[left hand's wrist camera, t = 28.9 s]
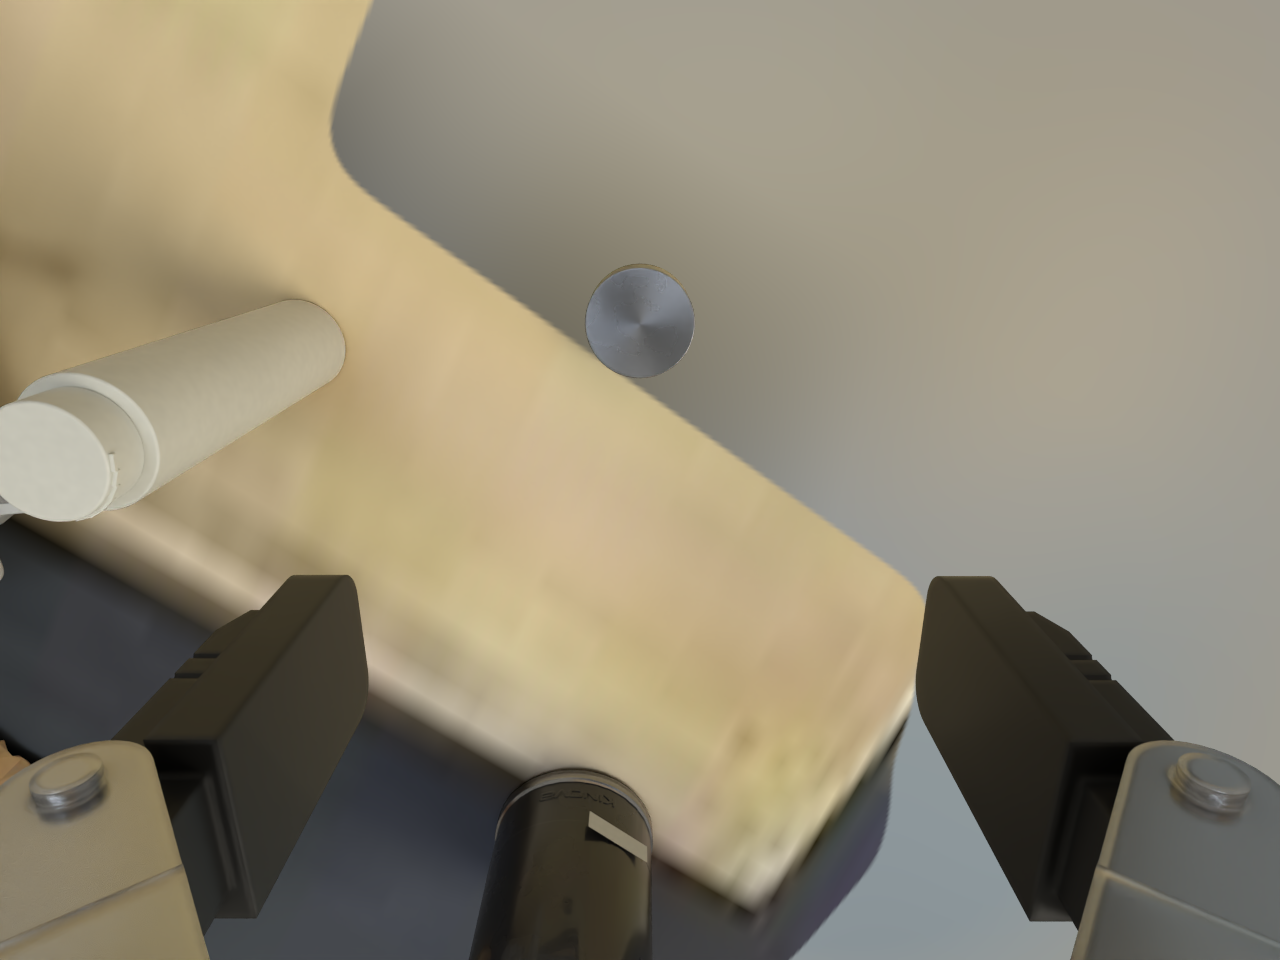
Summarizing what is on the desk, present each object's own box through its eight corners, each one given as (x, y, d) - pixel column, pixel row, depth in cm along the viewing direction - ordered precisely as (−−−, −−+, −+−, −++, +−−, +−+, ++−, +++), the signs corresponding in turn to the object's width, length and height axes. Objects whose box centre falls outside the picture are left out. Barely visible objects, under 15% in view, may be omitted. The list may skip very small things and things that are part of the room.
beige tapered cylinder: (263, 387, 39) (-16, 534, 22) (250, 298, 37) (-58, 385, 21) (350, 388, 39) (137, 536, 22) (341, 300, 38) (105, 388, 21)
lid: (708, 287, 37) (712, 292, 35) (668, 384, 39) (669, 394, 37) (609, 246, 37) (608, 250, 35) (572, 346, 38) (569, 354, 36)
